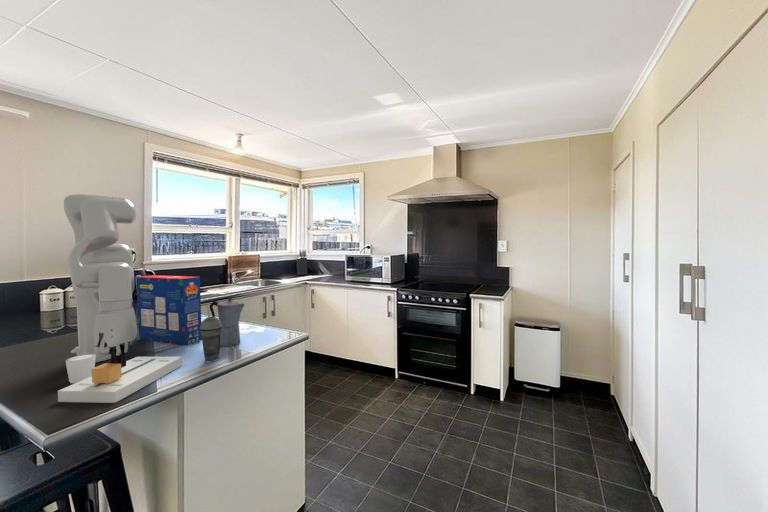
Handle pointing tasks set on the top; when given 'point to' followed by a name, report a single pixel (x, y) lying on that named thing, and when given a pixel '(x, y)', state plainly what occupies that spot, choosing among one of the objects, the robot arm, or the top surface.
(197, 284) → the blue box
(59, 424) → the top surface
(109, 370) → the fader knob
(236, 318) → the moka pot
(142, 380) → the slide fader track
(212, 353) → the beverage cup
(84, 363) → the white tapered cup
